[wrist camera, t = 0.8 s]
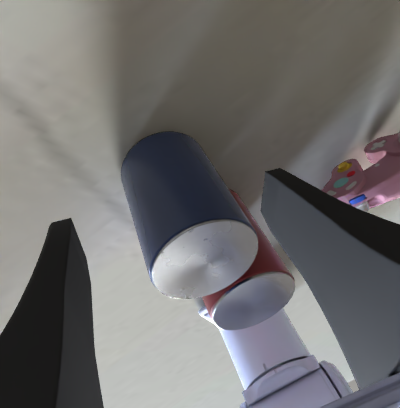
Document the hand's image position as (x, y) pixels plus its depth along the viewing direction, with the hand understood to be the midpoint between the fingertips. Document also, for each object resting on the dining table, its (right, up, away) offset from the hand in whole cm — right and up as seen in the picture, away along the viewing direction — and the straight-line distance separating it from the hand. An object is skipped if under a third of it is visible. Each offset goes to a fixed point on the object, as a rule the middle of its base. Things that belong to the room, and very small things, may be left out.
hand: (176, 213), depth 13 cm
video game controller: (+14, +5, +17) cm, 23 cm away
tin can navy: (-2, +3, +11) cm, 12 cm away
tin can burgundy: (+2, -1, +16) cm, 16 cm away
